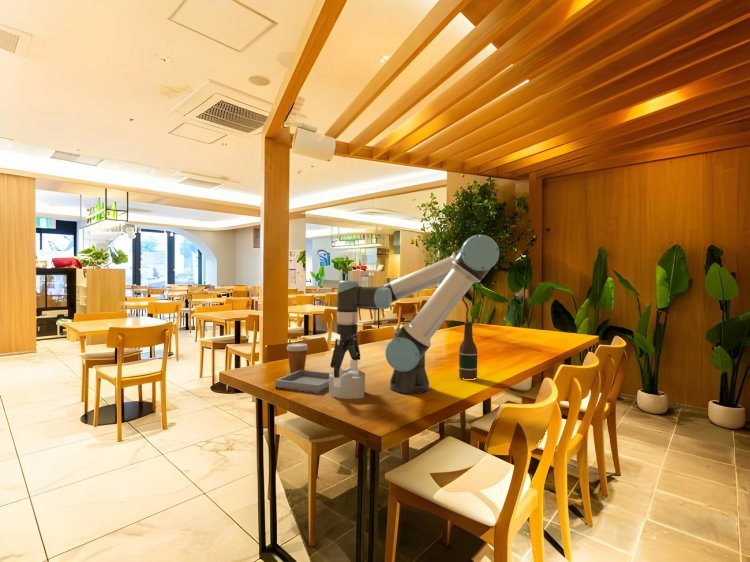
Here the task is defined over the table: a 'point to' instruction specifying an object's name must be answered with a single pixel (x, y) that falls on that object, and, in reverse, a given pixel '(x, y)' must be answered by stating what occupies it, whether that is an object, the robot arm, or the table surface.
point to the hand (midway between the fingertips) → (345, 381)
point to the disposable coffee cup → (297, 356)
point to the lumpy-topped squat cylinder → (348, 385)
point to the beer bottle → (468, 354)
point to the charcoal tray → (305, 381)
